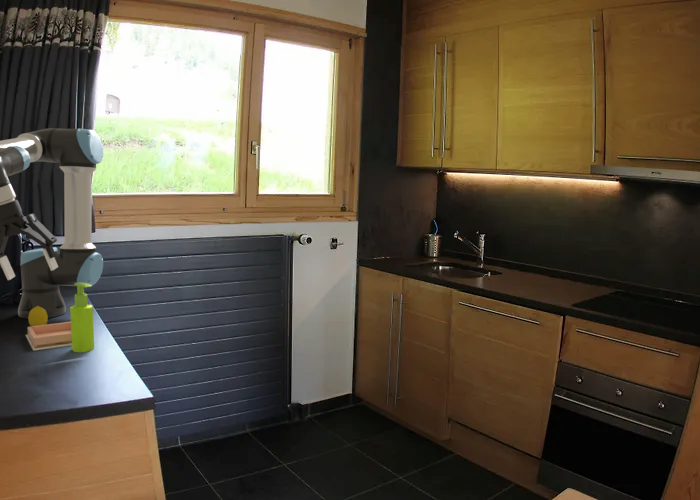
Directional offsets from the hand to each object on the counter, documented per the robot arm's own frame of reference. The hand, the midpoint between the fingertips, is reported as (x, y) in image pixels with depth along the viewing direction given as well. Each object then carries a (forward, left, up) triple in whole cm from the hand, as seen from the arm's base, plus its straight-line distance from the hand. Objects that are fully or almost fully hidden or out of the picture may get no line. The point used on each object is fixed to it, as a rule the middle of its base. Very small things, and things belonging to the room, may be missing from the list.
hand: (33, 273), depth 177 cm
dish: (-7, +6, -22) cm, 24 cm away
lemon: (-22, +3, -23) cm, 32 cm away
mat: (-7, +6, -22) cm, 24 cm away
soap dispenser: (+8, +11, -23) cm, 27 cm away
